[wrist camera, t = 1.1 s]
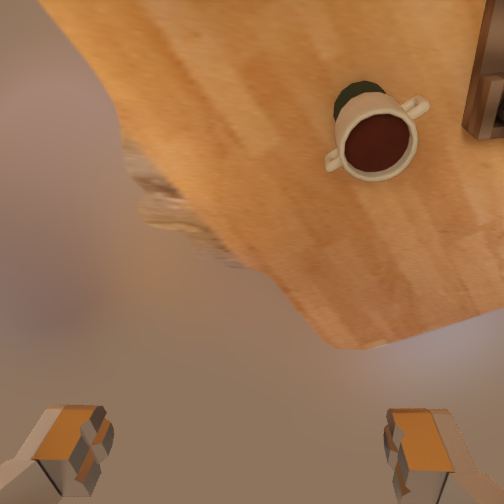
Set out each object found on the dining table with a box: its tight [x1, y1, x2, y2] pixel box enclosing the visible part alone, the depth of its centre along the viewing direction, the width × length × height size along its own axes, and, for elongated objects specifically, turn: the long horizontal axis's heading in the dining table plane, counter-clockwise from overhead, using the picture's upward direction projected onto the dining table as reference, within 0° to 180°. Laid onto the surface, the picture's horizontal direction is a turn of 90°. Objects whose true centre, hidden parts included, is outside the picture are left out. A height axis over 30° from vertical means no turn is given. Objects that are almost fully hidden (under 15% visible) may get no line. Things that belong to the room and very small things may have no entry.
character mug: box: [324, 81, 430, 182], centre depth 38 cm, size 11×7×13 cm, turn 129°
